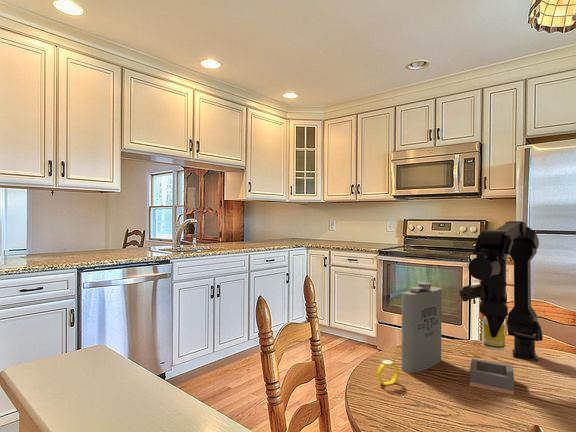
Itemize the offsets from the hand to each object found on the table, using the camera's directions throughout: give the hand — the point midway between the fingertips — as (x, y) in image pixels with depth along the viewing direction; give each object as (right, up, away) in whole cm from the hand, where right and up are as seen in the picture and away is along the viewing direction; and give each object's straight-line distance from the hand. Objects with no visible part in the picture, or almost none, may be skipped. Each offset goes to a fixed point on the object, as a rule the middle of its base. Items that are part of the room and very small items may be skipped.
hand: (493, 334), depth 99 cm
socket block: (-1, -13, 0) cm, 13 cm away
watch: (-29, -13, -2) cm, 32 cm away
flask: (-15, -13, +11) cm, 23 cm away
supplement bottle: (0, -4, 0) cm, 4 cm away
